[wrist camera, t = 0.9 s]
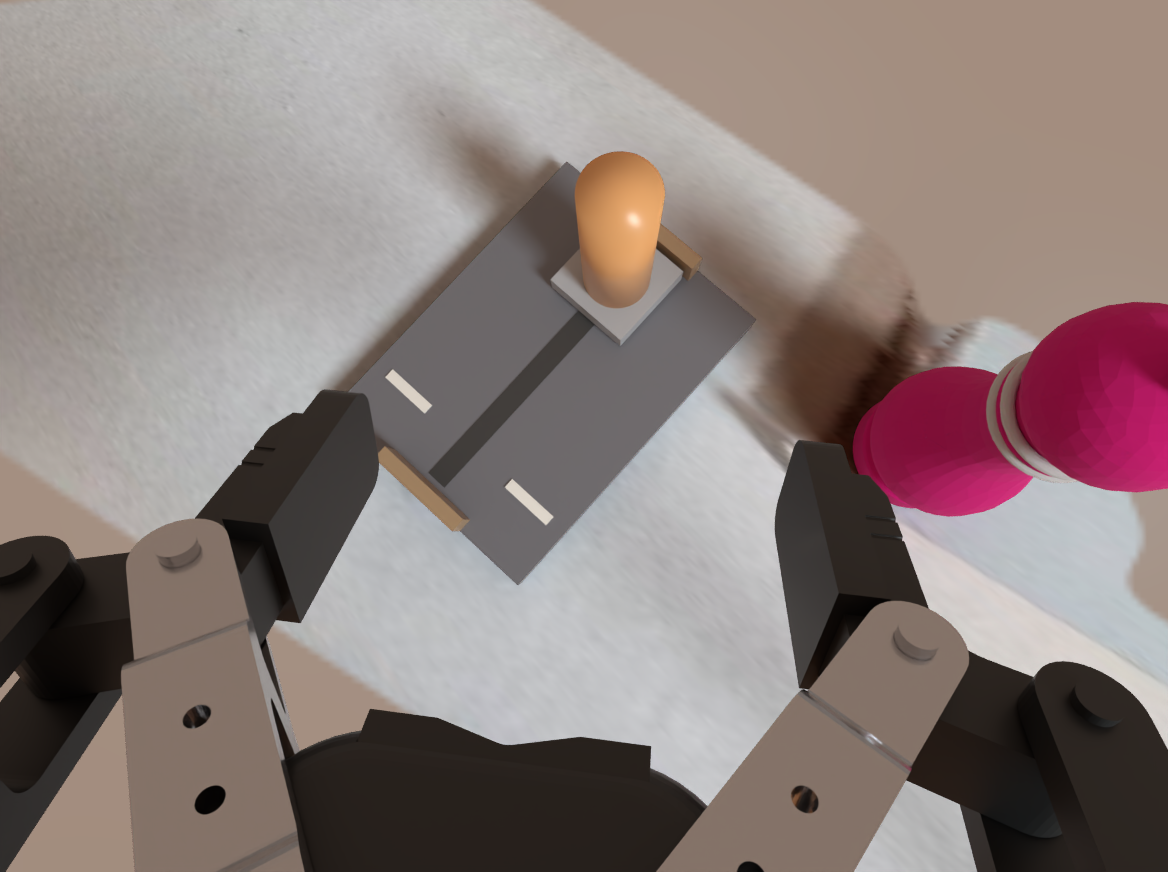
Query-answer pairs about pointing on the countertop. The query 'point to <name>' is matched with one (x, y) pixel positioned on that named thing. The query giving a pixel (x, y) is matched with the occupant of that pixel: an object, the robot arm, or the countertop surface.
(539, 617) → the countertop surface
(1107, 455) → the pepper mill
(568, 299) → the fader
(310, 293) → the countertop surface
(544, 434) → the fader track
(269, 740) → the robot arm
